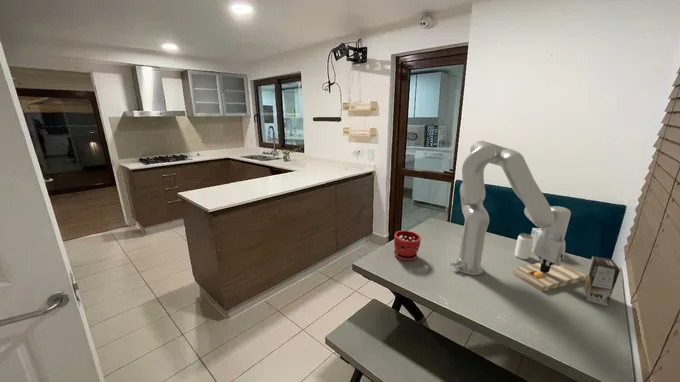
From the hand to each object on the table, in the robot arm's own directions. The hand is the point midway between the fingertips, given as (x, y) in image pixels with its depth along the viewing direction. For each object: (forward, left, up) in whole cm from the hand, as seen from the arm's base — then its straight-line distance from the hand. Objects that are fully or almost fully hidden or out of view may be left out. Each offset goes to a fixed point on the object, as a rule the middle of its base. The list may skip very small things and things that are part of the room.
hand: (544, 271), depth 121 cm
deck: (+3, 0, -3) cm, 4 cm away
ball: (-3, 0, -2) cm, 4 cm away
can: (+8, +17, -4) cm, 19 cm away
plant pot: (-49, +36, -4) cm, 61 cm away
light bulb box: (+24, +19, -4) cm, 31 cm away
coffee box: (+7, -16, -4) cm, 18 cm away
